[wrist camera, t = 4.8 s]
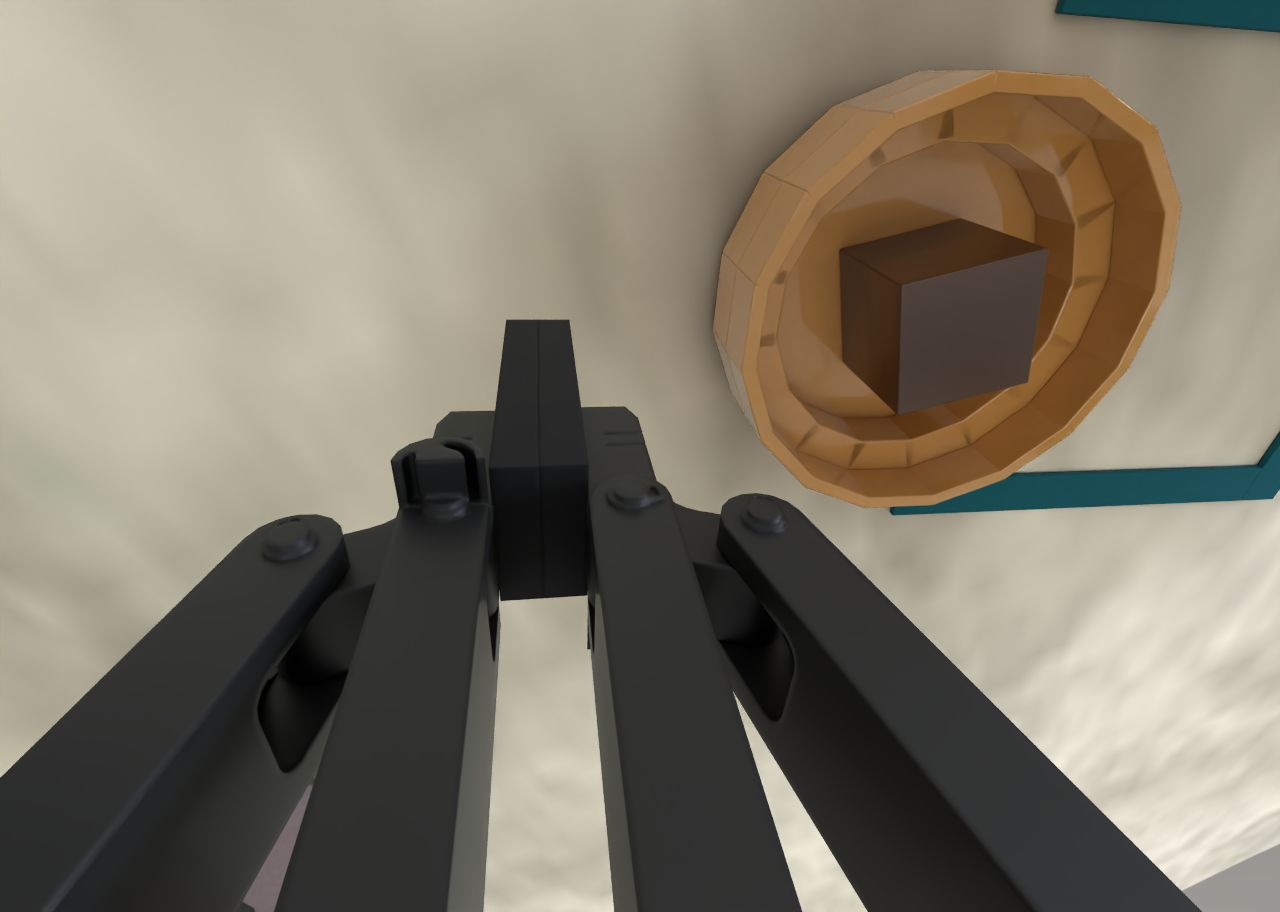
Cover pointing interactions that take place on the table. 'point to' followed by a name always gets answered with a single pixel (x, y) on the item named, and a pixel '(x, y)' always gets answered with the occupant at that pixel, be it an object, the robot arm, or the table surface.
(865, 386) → the bowl
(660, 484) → the robot arm
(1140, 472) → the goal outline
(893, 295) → the walnut block
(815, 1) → the table surface
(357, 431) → the table surface
